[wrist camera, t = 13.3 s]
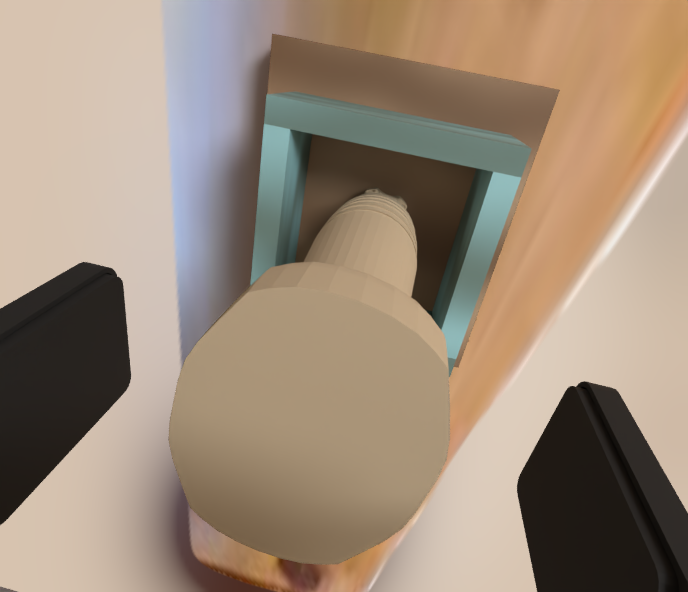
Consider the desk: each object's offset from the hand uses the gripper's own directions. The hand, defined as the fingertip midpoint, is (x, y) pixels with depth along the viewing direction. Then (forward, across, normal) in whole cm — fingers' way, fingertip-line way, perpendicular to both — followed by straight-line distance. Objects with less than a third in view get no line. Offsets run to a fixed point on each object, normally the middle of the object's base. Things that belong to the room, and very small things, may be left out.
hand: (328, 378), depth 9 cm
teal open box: (+15, 0, +1) cm, 15 cm away
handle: (+13, 0, +1) cm, 13 cm away
